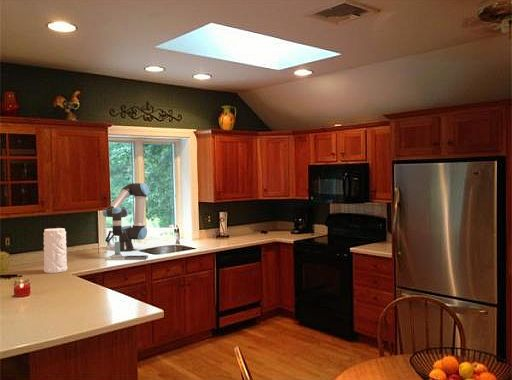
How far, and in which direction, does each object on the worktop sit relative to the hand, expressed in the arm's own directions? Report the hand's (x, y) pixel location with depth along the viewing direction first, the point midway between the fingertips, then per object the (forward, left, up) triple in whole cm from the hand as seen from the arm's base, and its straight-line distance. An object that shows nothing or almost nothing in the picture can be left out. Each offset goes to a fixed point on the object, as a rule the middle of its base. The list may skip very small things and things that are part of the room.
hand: (117, 249), depth 392 cm
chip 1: (+11, 0, -7) cm, 13 cm away
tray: (+11, +2, -8) cm, 14 cm away
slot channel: (+11, +19, -8) cm, 23 cm away
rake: (0, 0, -8) cm, 8 cm away
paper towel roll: (+51, -32, -8) cm, 61 cm away
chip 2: (+11, +4, -7) cm, 14 cm away
